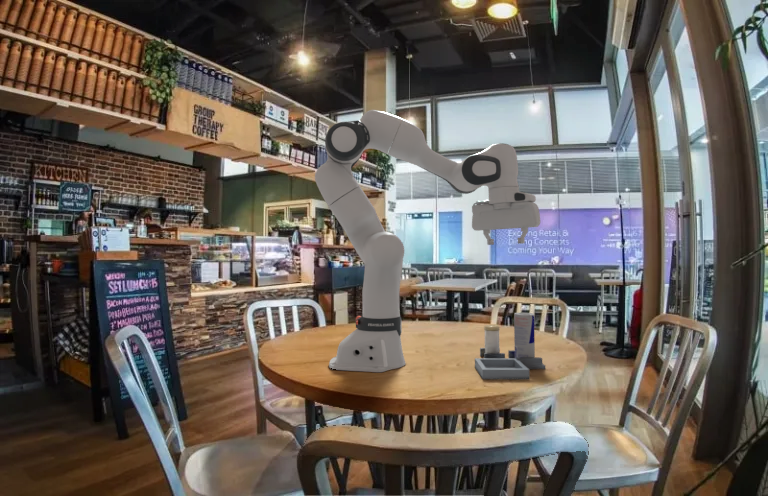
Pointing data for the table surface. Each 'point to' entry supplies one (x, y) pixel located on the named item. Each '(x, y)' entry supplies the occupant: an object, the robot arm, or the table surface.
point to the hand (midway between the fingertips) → (505, 244)
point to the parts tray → (501, 368)
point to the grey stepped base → (528, 361)
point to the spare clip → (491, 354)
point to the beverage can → (524, 335)
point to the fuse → (491, 339)
